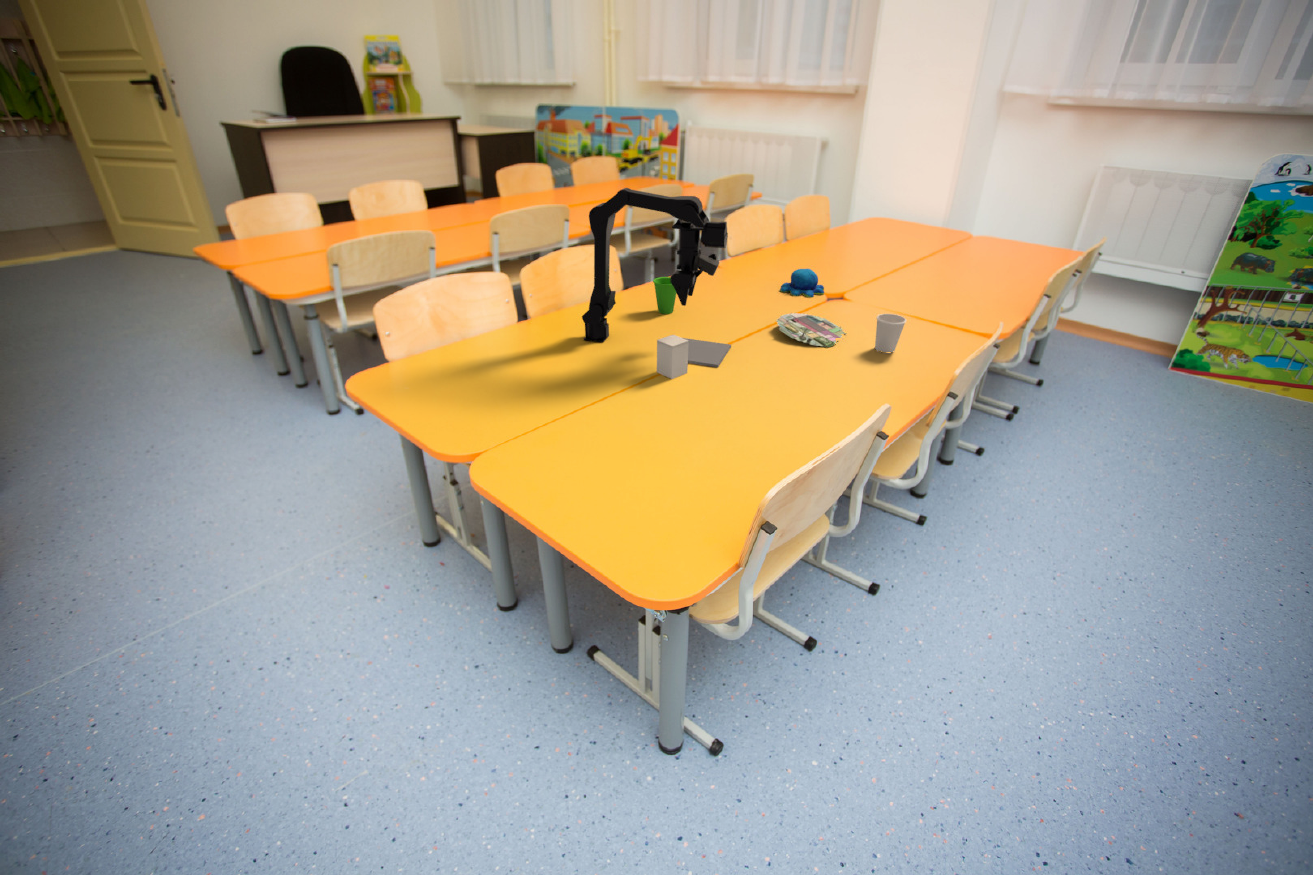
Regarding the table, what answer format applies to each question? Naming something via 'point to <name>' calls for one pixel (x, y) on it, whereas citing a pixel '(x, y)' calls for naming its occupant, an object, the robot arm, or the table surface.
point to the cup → (664, 294)
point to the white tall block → (672, 356)
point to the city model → (810, 329)
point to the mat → (706, 352)
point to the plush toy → (803, 284)
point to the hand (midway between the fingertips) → (687, 300)
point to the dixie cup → (888, 331)
